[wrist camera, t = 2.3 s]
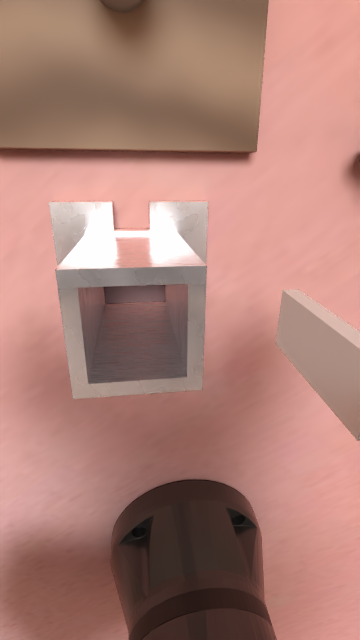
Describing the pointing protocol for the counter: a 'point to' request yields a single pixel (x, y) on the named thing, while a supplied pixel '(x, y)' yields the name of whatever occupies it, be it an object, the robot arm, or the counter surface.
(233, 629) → the robot arm
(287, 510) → the counter surface
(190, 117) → the base board
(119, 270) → the white hollow block
